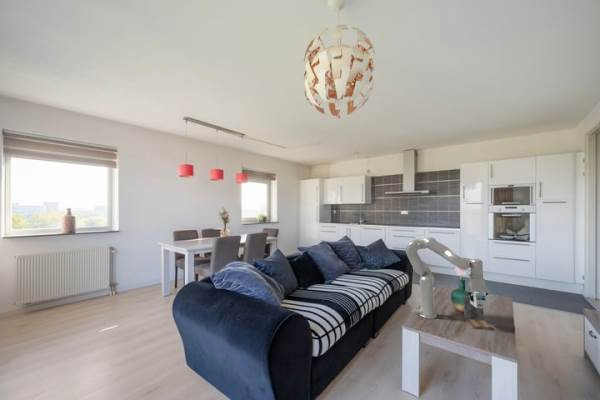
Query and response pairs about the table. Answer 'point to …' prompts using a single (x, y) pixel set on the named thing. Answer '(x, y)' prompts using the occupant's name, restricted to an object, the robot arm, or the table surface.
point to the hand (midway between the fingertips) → (477, 301)
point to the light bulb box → (479, 300)
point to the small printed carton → (474, 316)
